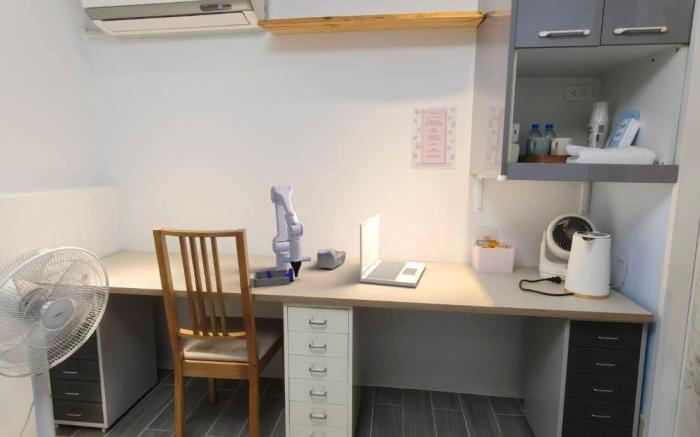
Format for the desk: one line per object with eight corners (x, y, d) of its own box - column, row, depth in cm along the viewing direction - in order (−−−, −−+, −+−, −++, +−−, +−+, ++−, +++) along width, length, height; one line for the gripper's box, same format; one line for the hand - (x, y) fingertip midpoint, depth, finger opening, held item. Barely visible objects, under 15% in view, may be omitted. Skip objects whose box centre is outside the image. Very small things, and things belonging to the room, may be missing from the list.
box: (254, 278, 195) (253, 271, 194) (287, 275, 198) (287, 269, 198) (254, 287, 181) (253, 279, 181) (289, 284, 185) (289, 277, 184)
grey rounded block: (314, 249, 208) (324, 242, 227) (314, 269, 209) (325, 261, 229) (338, 250, 205) (347, 243, 225) (339, 270, 207) (347, 262, 226)
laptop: (415, 288, 179) (416, 226, 175) (359, 283, 187) (359, 223, 183) (425, 268, 212) (427, 215, 207) (377, 264, 220) (377, 213, 216)
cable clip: (291, 279, 193) (291, 267, 192) (293, 281, 189) (293, 269, 188) (266, 282, 189) (266, 269, 188) (267, 284, 185) (267, 272, 184)
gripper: (280, 252, 185) (281, 280, 187) (311, 250, 188) (312, 277, 190) (279, 248, 192) (280, 275, 194) (309, 246, 195) (310, 273, 197)
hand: (296, 276), depth 192 cm, fingers closed
